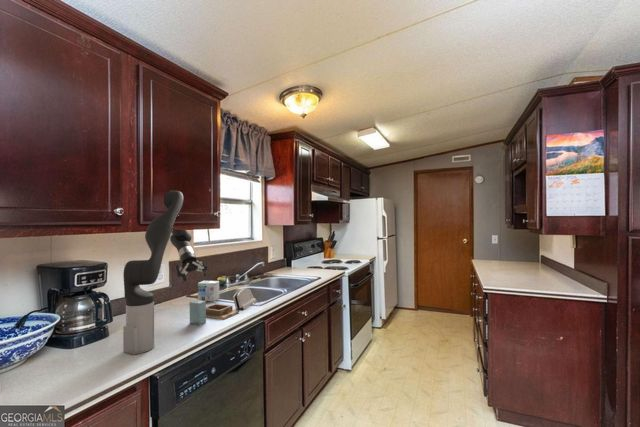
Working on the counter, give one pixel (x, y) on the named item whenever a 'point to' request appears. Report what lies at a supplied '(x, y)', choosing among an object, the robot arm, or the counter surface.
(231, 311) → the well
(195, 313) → the grey-green block
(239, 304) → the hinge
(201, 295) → the light bulb box
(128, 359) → the counter surface
